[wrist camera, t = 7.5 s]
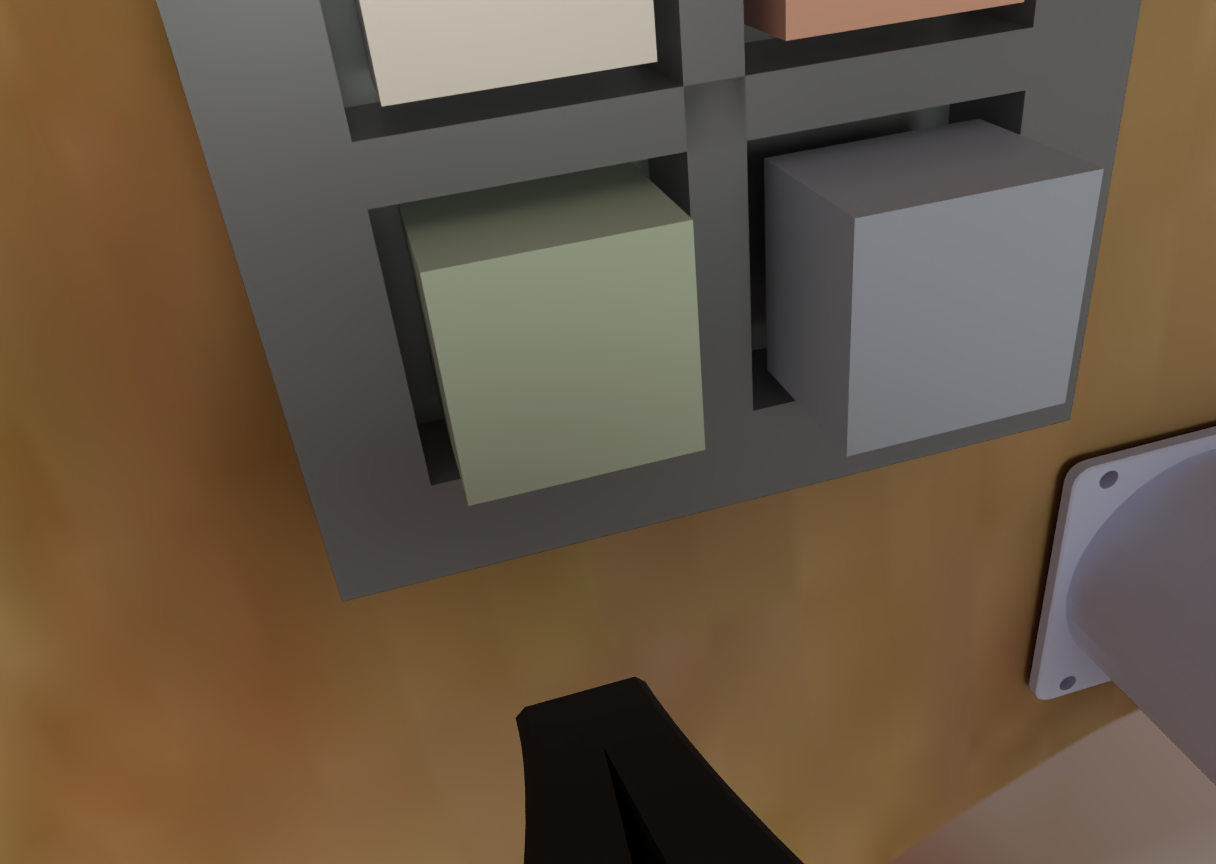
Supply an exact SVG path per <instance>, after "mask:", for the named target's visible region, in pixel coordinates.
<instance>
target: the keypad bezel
mask: <svg viewBox="0 0 1216 864" xmlns="http://www.w3.org/2000/svg"><path fill="white" fill-rule="evenodd" d="M156 1H157V5H158V8H159V11H160V14H161V18H162V21H163V24H164V27H165V31H166V34H167V37H168V40H169V43H170V47H171V50H172V53H173V56H174V60H175V63H176V66H177V69H178V73H179V76H180V79H181V82H182V85H183V89H184V92H185V95H186V98H187V102H188V105H189V108H190V111H191V115H192V118H193V121H194V124H195V128H196V131H197V134H198V137H199V140H200V144H201V147H202V150H203V153H204V157H205V160H206V163H207V166H208V170H209V173H210V176H211V179H212V183H213V186H214V189H215V192H216V195H217V199H218V202H219V205H220V208H221V212H222V215H223V218H224V221H225V225H226V228H227V231H228V234H229V238H230V241H231V244H232V247H233V250H234V254H235V257H236V260H237V263H238V267H239V270H240V273H241V276H242V280H243V283H244V286H245V289H246V292H247V296H248V299H249V302H250V305H251V309H252V312H253V315H254V318H255V322H256V325H257V328H258V331H259V335H260V338H261V341H262V344H263V347H264V351H265V354H266V357H267V360H268V364H269V367H270V370H271V373H272V377H273V380H274V383H275V386H276V390H277V393H278V396H279V399H280V402H281V406H282V409H283V412H284V415H285V419H286V422H287V425H288V428H289V432H290V435H291V438H292V441H293V444H294V448H295V451H296V454H297V457H298V461H299V464H300V467H301V470H302V474H303V477H304V480H305V483H306V487H307V490H308V493H309V496H310V499H311V503H312V506H313V509H314V512H315V516H316V519H317V522H318V525H319V529H320V532H321V535H322V538H323V542H324V545H325V548H326V551H327V554H328V558H329V561H330V564H331V567H332V571H333V574H334V577H335V580H336V584H337V587H338V590H339V593H340V597H341V600H342V602H344V601H348V600H352V599H356V598H360V597H364V596H368V595H372V594H376V593H380V592H384V591H388V590H392V589H396V588H400V587H404V586H408V585H412V584H416V583H420V582H424V581H428V580H432V579H436V578H440V577H444V576H448V575H452V574H456V573H460V572H464V571H468V570H472V569H476V568H480V567H484V566H488V565H492V564H496V563H500V562H504V561H508V560H512V559H516V558H520V557H524V556H528V555H532V554H536V553H540V552H544V551H548V550H552V549H556V548H560V547H564V546H568V545H572V544H576V543H580V542H584V541H588V540H592V539H596V538H600V537H604V536H608V535H612V534H616V533H620V532H624V531H628V530H632V529H636V528H640V527H644V526H648V525H652V524H656V523H660V522H664V521H668V520H672V519H676V518H680V517H684V516H688V515H692V514H696V513H700V512H704V511H708V510H712V509H716V508H720V507H724V506H728V505H732V504H736V503H740V502H744V501H748V500H752V499H756V498H760V497H764V496H768V495H772V494H776V493H780V492H784V491H788V490H792V489H796V488H800V487H804V486H808V485H812V484H816V483H820V482H824V481H828V480H832V479H836V478H840V477H844V476H848V475H852V474H856V473H860V472H864V471H868V470H872V469H876V468H880V467H884V466H888V465H892V464H896V463H900V462H904V461H908V460H912V459H916V458H920V457H924V456H928V455H932V454H936V453H940V452H944V451H948V450H952V449H956V448H960V447H964V446H968V445H972V444H976V443H980V442H984V441H988V440H992V439H996V438H1000V437H1004V436H1008V435H1012V434H1016V433H1020V432H1024V431H1028V430H1032V429H1036V428H1040V427H1044V426H1048V425H1052V424H1056V423H1060V422H1064V421H1068V420H1070V417H1071V411H1072V405H1073V399H1074V393H1075V387H1076V382H1077V376H1078V370H1079V364H1080V358H1081V352H1082V346H1083V340H1084V334H1085V329H1086V323H1087V317H1088V311H1089V305H1090V299H1091V293H1092V287H1093V281H1094V276H1095V270H1096V264H1097V258H1098V252H1099V246H1100V240H1101V234H1102V229H1103V223H1104V217H1105V211H1106V205H1107V199H1108V193H1109V187H1110V181H1111V176H1112V170H1113V164H1114V158H1115V152H1116V146H1117V140H1118V134H1119V128H1120V123H1121V117H1122V111H1123V105H1124V99H1125V93H1126V87H1127V81H1128V75H1129V70H1130V64H1131V58H1132V52H1133V46H1134V40H1135V34H1136V28H1137V23H1138V17H1139V11H1140V5H1141V0H1024V2H1021V3H1015V4H1009V5H1003V6H997V7H991V8H985V9H979V10H972V11H966V12H960V13H954V14H948V15H942V16H936V17H930V18H923V19H917V20H911V21H905V22H899V23H893V24H887V25H881V26H874V27H868V28H862V29H856V30H850V31H844V32H838V33H832V34H825V35H819V36H813V37H807V38H801V39H795V40H789V41H785V40H782V39H780V38H777V37H775V36H772V35H770V34H767V33H765V32H762V31H760V30H757V29H755V28H752V27H750V26H747V25H745V24H744V5H743V0H653V4H654V19H655V34H656V49H657V62H652V63H646V64H640V65H634V66H627V67H621V68H615V69H609V70H603V71H597V72H591V73H585V74H578V75H572V76H566V77H560V78H554V79H548V80H542V81H536V82H529V83H523V84H517V85H511V86H505V87H499V88H493V89H487V90H480V91H474V92H468V93H462V94H456V95H450V96H444V97H437V98H431V99H425V100H419V101H413V102H407V103H401V104H395V105H388V106H381V103H380V101H379V98H378V95H377V93H376V90H375V87H374V85H373V82H372V79H371V76H370V71H369V66H368V62H367V57H366V52H365V48H364V43H363V38H362V34H361V29H360V24H359V19H358V15H357V10H356V5H355V1H354V0H156ZM974 119H981V120H984V121H986V122H989V123H991V124H994V125H996V126H999V127H1001V128H1004V129H1006V130H1009V131H1011V132H1014V133H1016V134H1019V135H1021V136H1024V137H1026V138H1029V139H1031V140H1034V141H1036V142H1039V143H1041V144H1044V145H1046V146H1049V147H1051V148H1054V149H1056V150H1059V151H1061V152H1064V153H1066V154H1069V155H1071V156H1073V157H1076V158H1078V159H1081V160H1083V161H1086V162H1088V163H1091V164H1093V165H1096V166H1098V167H1101V168H1103V169H1104V171H1103V177H1102V183H1101V189H1100V195H1099V201H1098V207H1097V213H1096V219H1095V225H1094V231H1093V237H1092V243H1091V249H1090V255H1089V261H1088V267H1087V274H1086V280H1085V286H1084V292H1083V298H1082V304H1081V310H1080V316H1079V322H1078V328H1077V334H1076V340H1075V346H1074V352H1073V358H1072V364H1071V370H1070V376H1069V382H1068V389H1067V395H1066V401H1065V403H1062V404H1058V405H1054V406H1050V407H1046V408H1042V409H1038V410H1034V411H1030V412H1026V413H1022V414H1018V415H1014V416H1010V417H1005V418H1001V419H997V420H993V421H989V422H985V423H981V424H977V425H973V426H969V427H965V428H961V429H957V430H953V431H949V432H945V433H940V434H936V435H932V436H928V437H924V438H920V439H916V440H912V441H908V442H904V443H900V444H896V445H892V446H888V447H884V448H879V449H875V450H871V451H867V452H863V453H859V454H855V455H851V456H846V455H845V454H844V453H843V452H842V451H841V450H840V449H839V448H838V447H837V445H836V444H835V443H834V442H833V441H832V440H831V439H830V438H829V437H828V436H827V435H826V433H825V432H824V431H823V430H822V429H821V428H820V427H819V426H818V425H817V424H816V423H815V421H814V420H813V419H812V418H811V417H810V416H809V415H808V414H807V413H806V412H805V410H804V409H803V408H802V407H801V406H800V405H799V404H798V403H797V402H796V401H795V400H794V398H793V397H792V396H791V395H790V394H789V393H788V392H787V391H786V390H785V389H784V388H783V386H782V385H781V384H780V383H779V382H778V381H777V380H776V379H775V378H774V377H773V376H772V374H771V373H770V372H769V371H768V370H767V328H766V260H765V192H764V158H768V157H774V156H779V155H785V154H790V153H795V152H801V151H806V150H812V149H817V148H822V147H828V146H833V145H839V144H844V143H849V142H855V141H860V140H866V139H871V138H876V137H882V136H887V135H893V134H898V133H903V132H909V131H914V130H920V129H925V128H930V127H936V126H941V125H947V124H952V123H958V122H963V121H968V120H974ZM627 162H631V163H632V164H633V165H634V166H635V167H636V168H638V169H639V170H640V171H641V172H642V173H643V174H644V175H645V176H646V177H647V178H648V179H649V180H651V181H652V182H653V183H654V184H655V185H656V186H657V187H658V188H659V189H660V190H661V191H662V192H663V193H665V194H666V195H667V196H668V197H669V198H670V199H671V200H672V201H673V202H674V203H675V204H676V205H678V206H679V207H680V208H681V209H682V210H683V211H684V212H685V213H686V214H687V215H688V216H689V217H690V218H692V219H693V230H694V249H695V267H696V286H697V304H698V323H699V342H700V360H701V379H702V397H703V416H704V434H705V450H702V451H698V452H694V453H689V454H685V455H681V456H677V457H673V458H668V459H664V460H660V461H656V462H652V463H647V464H643V465H639V466H635V467H631V468H626V469H622V470H618V471H614V472H610V473H605V474H601V475H597V476H593V477H589V478H584V479H580V480H576V481H572V482H568V483H563V484H559V485H555V486H551V487H547V488H542V489H538V490H534V491H530V492H526V493H521V494H517V495H513V496H509V497H505V498H500V499H496V500H492V501H488V502H484V503H479V504H475V505H471V506H468V502H467V499H466V495H465V492H464V488H463V484H462V481H461V477H460V474H459V470H458V467H457V463H456V460H455V456H454V453H453V449H452V445H451V442H450V438H449V435H448V431H447V428H446V424H445V421H444V417H443V413H442V409H441V405H440V400H439V395H438V391H437V386H436V381H435V376H434V372H433V367H432V362H431V358H430V353H429V348H428V344H427V339H426V334H425V329H424V325H423V320H422V315H421V311H420V306H419V301H418V297H417V292H416V287H415V282H414V278H413V273H412V268H411V264H410V259H409V254H408V250H407V245H406V240H405V235H404V231H403V226H402V221H401V217H400V212H399V207H398V204H401V203H406V202H412V201H417V200H423V199H428V198H434V197H440V196H445V195H451V194H456V193H462V192H467V191H473V190H478V189H484V188H489V187H495V186H500V185H506V184H511V183H517V182H522V181H528V180H533V179H539V178H544V177H550V176H556V175H561V174H567V173H572V172H578V171H583V170H589V169H594V168H600V167H605V166H611V165H616V164H622V163H627Z"/></svg>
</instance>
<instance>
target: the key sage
mask: <svg viewBox="0 0 1216 864" xmlns="http://www.w3.org/2000/svg"><path fill="white" fill-rule="evenodd" d="M398 207H399V212H400V217H401V221H402V226H403V231H404V235H405V240H406V245H407V250H408V254H409V259H410V264H411V268H412V273H413V278H414V282H415V287H416V292H417V297H418V301H419V306H420V311H421V315H422V320H423V325H424V329H425V334H426V339H427V344H428V348H429V353H430V358H431V362H432V367H433V372H434V376H435V381H436V386H437V391H438V395H439V400H440V405H441V409H442V413H443V417H444V421H445V424H446V428H447V431H448V435H449V438H450V442H451V445H452V449H453V453H454V456H455V460H456V463H457V467H458V470H459V474H460V477H461V481H462V484H463V488H464V492H465V495H466V499H467V502H468V506H471V505H475V504H479V503H484V502H488V501H492V500H496V499H500V498H505V497H509V496H513V495H517V494H521V493H526V492H530V491H534V490H538V489H542V488H547V487H551V486H555V485H559V484H563V483H568V482H572V481H576V480H580V479H584V478H589V477H593V476H597V475H601V474H605V473H610V472H614V471H618V470H622V469H626V468H631V467H635V466H639V465H643V464H647V463H652V462H656V461H660V460H664V459H668V458H673V457H677V456H681V455H685V454H689V453H694V452H698V451H702V450H705V434H704V416H703V397H702V379H701V360H700V342H699V323H698V304H697V286H696V267H695V249H694V230H693V219H692V218H690V217H689V216H688V215H687V214H686V213H685V212H684V211H683V210H682V209H681V208H680V207H679V206H678V205H676V204H675V203H674V202H673V201H672V200H671V199H670V198H669V197H668V196H667V195H666V194H665V193H663V192H662V191H661V190H660V189H659V188H658V187H657V186H656V185H655V184H654V183H653V182H652V181H651V180H649V179H648V178H647V177H646V176H645V175H644V174H643V173H642V172H641V171H640V170H639V169H638V168H636V167H635V166H634V165H633V164H632V163H631V162H627V163H622V164H616V165H611V166H605V167H600V168H594V169H589V170H583V171H578V172H572V173H567V174H561V175H556V176H550V177H544V178H539V179H533V180H528V181H522V182H517V183H511V184H506V185H500V186H495V187H489V188H484V189H478V190H473V191H467V192H462V193H456V194H451V195H445V196H440V197H434V198H428V199H423V200H417V201H412V202H406V203H401V204H398Z"/></svg>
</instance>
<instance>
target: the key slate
mask: <svg viewBox="0 0 1216 864" xmlns="http://www.w3.org/2000/svg"><path fill="white" fill-rule="evenodd" d="M1103 171H1104V169H1103V168H1101V167H1098V166H1096V165H1093V164H1091V163H1088V162H1086V161H1083V160H1081V159H1078V158H1076V157H1073V156H1071V155H1069V154H1066V153H1064V152H1061V151H1059V150H1056V149H1054V148H1051V147H1049V146H1046V145H1044V144H1041V143H1039V142H1036V141H1034V140H1031V139H1029V138H1026V137H1024V136H1021V135H1019V134H1016V133H1014V132H1011V131H1009V130H1006V129H1004V128H1001V127H999V126H996V125H994V124H991V123H989V122H986V121H984V120H981V119H974V120H968V121H963V122H958V123H952V124H947V125H941V126H936V127H930V128H925V129H920V130H914V131H909V132H903V133H898V134H893V135H887V136H882V137H876V138H871V139H866V140H860V141H855V142H849V143H844V144H839V145H833V146H828V147H822V148H817V149H812V150H806V151H801V152H795V153H790V154H785V155H779V156H774V157H768V158H764V192H765V260H766V328H767V370H768V371H769V372H770V373H771V374H772V376H773V377H774V378H775V379H776V380H777V381H778V382H779V383H780V384H781V385H782V386H783V388H784V389H785V390H786V391H787V392H788V393H789V394H790V395H791V396H792V397H793V398H794V400H795V401H796V402H797V403H798V404H799V405H800V406H801V407H802V408H803V409H804V410H805V412H806V413H807V414H808V415H809V416H810V417H811V418H812V419H813V420H814V421H815V423H816V424H817V425H818V426H819V427H820V428H821V429H822V430H823V431H824V432H825V433H826V435H827V436H828V437H829V438H830V439H831V440H832V441H833V442H834V443H835V444H836V445H837V447H838V448H839V449H840V450H841V451H842V452H843V453H844V454H845V455H846V456H851V455H855V454H859V453H863V452H867V451H871V450H875V449H879V448H884V447H888V446H892V445H896V444H900V443H904V442H908V441H912V440H916V439H920V438H924V437H928V436H932V435H936V434H940V433H945V432H949V431H953V430H957V429H961V428H965V427H969V426H973V425H977V424H981V423H985V422H989V421H993V420H997V419H1001V418H1005V417H1010V416H1014V415H1018V414H1022V413H1026V412H1030V411H1034V410H1038V409H1042V408H1046V407H1050V406H1054V405H1058V404H1062V403H1065V401H1066V395H1067V389H1068V382H1069V376H1070V370H1071V364H1072V358H1073V352H1074V346H1075V340H1076V334H1077V328H1078V322H1079V316H1080V310H1081V304H1082V298H1083V292H1084V286H1085V280H1086V274H1087V267H1088V261H1089V255H1090V249H1091V243H1092V237H1093V231H1094V225H1095V219H1096V213H1097V207H1098V201H1099V195H1100V189H1101V183H1102V177H1103Z"/></svg>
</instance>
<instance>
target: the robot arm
mask: <svg viewBox="0 0 1216 864" xmlns="http://www.w3.org/2000/svg"><path fill="white" fill-rule="evenodd" d="M1111 680H1112V681H1113V682H1114V683H1115V684H1116V685H1117V686H1118V687H1119V688H1120V689H1121V690H1122V691H1123V692H1124V693H1125V694H1126V695H1127V696H1128V697H1129V698H1130V699H1131V700H1132V701H1133V702H1134V703H1135V704H1136V705H1137V706H1138V707H1139V708H1140V709H1141V710H1142V711H1143V712H1144V713H1145V714H1146V715H1147V716H1148V717H1149V718H1150V719H1151V720H1152V721H1153V722H1154V723H1155V724H1156V725H1157V726H1158V727H1159V728H1160V729H1161V731H1163V733H1164V734H1165V735H1166V736H1167V737H1168V738H1169V739H1170V740H1171V741H1172V742H1173V743H1175V745H1176V746H1177V747H1178V748H1180V750H1181V751H1182V752H1183V753H1184V754H1185V755H1186V756H1187V757H1188V758H1189V759H1190V760H1191V761H1192V762H1193V763H1194V764H1195V765H1196V766H1197V767H1198V768H1199V769H1200V770H1201V771H1202V772H1203V773H1204V774H1205V775H1206V776H1207V777H1208V778H1209V779H1210V780H1211V781H1212V782H1213V783H1214V784H1215V785H1216V426H1215V427H1211V428H1207V429H1203V430H1199V431H1195V432H1191V433H1188V434H1184V435H1180V436H1176V437H1172V438H1168V439H1164V440H1160V441H1157V442H1153V443H1149V444H1145V445H1141V446H1137V447H1133V448H1130V449H1126V450H1122V451H1118V452H1114V453H1110V454H1106V455H1102V456H1099V457H1095V458H1091V459H1087V460H1084V461H1081V462H1079V463H1077V464H1076V465H1074V466H1073V467H1072V468H1071V469H1070V470H1069V471H1068V473H1067V474H1066V477H1065V480H1064V484H1063V490H1062V496H1061V502H1060V508H1059V513H1058V519H1057V525H1056V531H1055V537H1054V542H1053V548H1052V554H1051V560H1050V566H1049V571H1048V577H1047V583H1046V589H1045V594H1044V600H1043V606H1042V612H1041V618H1040V623H1039V629H1038V635H1037V641H1036V647H1035V652H1034V658H1033V664H1032V670H1031V675H1030V681H1029V689H1030V690H1031V691H1032V692H1033V693H1034V694H1035V695H1036V697H1037V698H1038V699H1041V700H1048V699H1053V698H1056V697H1059V696H1062V695H1066V694H1069V693H1072V692H1075V691H1079V690H1082V689H1085V688H1089V687H1092V686H1095V685H1098V684H1102V683H1105V682H1108V681H1111ZM516 721H517V726H518V731H519V736H520V740H521V746H522V754H523V762H524V775H525V815H526V829H525V852H524V864H804V863H803V862H802V861H801V860H800V859H799V858H798V857H797V856H796V855H795V854H794V853H793V852H792V851H791V850H790V849H789V848H788V847H787V846H786V845H785V844H784V843H783V842H782V841H781V840H780V839H779V838H777V837H776V836H775V835H774V834H773V832H772V831H771V830H770V829H769V828H768V827H767V826H766V825H765V824H764V823H763V822H762V821H761V820H760V819H759V818H758V817H757V816H756V815H755V814H754V812H753V811H752V810H751V809H750V808H749V807H748V806H747V805H746V804H745V803H744V802H743V801H742V800H741V799H740V798H739V797H738V796H737V795H736V794H735V792H734V791H733V790H732V789H731V788H730V787H729V786H728V785H727V784H726V783H725V782H724V780H723V779H722V778H721V777H720V776H719V775H718V774H717V773H716V771H715V770H714V769H713V768H712V767H711V766H710V765H709V763H708V762H707V761H706V760H705V759H704V757H703V756H702V755H701V754H700V753H699V752H698V750H697V749H696V748H695V747H694V746H693V745H692V743H691V742H690V741H689V740H688V738H687V737H686V736H685V735H684V734H683V732H682V731H681V730H680V729H679V727H678V726H677V725H676V724H675V722H674V721H673V720H672V718H671V717H670V716H669V714H668V713H667V712H666V710H665V709H664V708H663V706H662V705H661V704H660V702H659V701H658V700H657V698H656V697H655V695H654V694H653V693H652V691H651V690H650V688H649V687H648V685H647V684H646V682H644V681H642V680H640V679H639V678H637V677H632V678H628V679H625V680H621V681H618V682H614V683H610V684H607V685H603V686H600V687H596V688H592V689H589V690H585V691H582V692H578V693H574V694H571V695H567V696H563V697H560V698H556V699H553V700H549V701H545V702H542V703H538V704H535V705H531V706H527V707H525V708H524V709H523V710H522V711H521V712H520V714H519V715H518V716H517V717H516Z"/></svg>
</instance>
